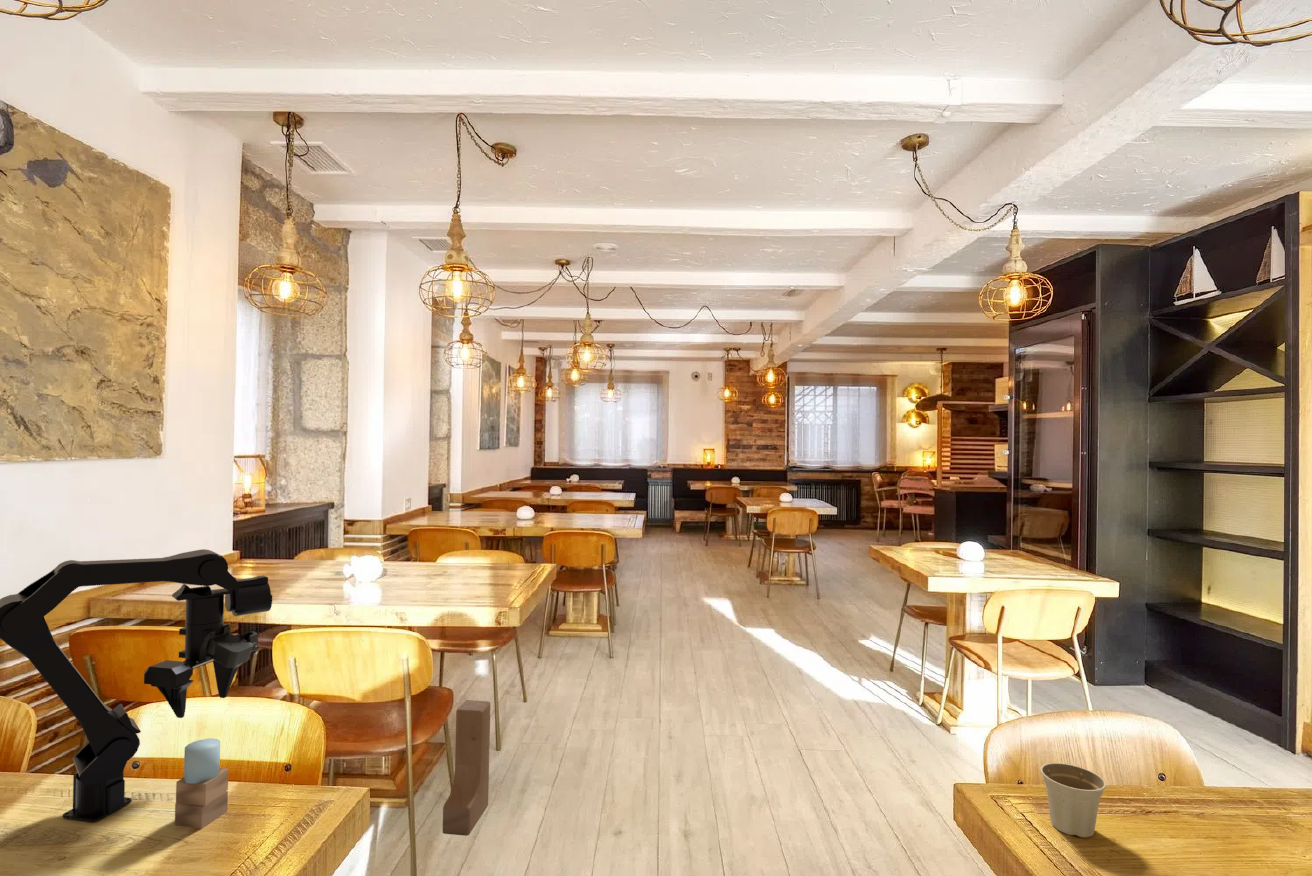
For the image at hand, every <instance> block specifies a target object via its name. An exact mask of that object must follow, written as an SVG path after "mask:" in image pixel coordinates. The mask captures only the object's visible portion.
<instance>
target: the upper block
mask: <svg viewBox="0 0 1312 876" xmlns="http://www.w3.org/2000/svg"><path fill="white" fill-rule="evenodd" d="M175 786H176V787H175V803H176V804H184V805H198V806H206V805H208V804H209V803H210V802H212V801H213V800H214V799H216V798H217V797H219V796H220V795H221V794H223V793H224V792H225V791H228V790H229V768H225V767H220V772H219V774H218V776H216V777H215V778H213V779H211V780H209V781H205V782H202V783H195V784H191V783H186V782H185V781H184V776H183V777H182V778H180V779H179V780H177V781H176V783H175Z"/></svg>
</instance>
